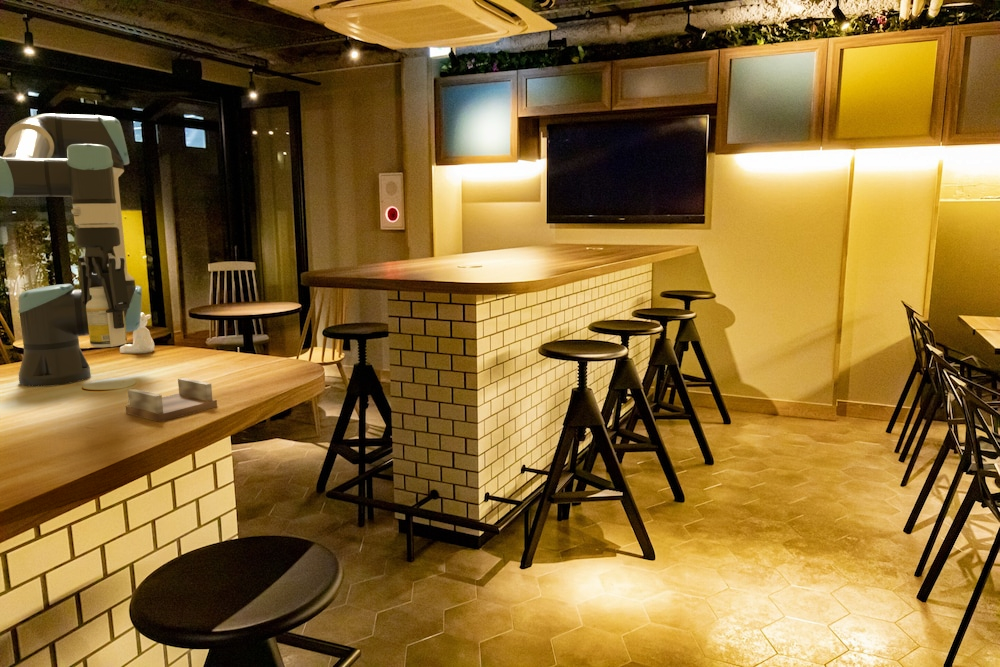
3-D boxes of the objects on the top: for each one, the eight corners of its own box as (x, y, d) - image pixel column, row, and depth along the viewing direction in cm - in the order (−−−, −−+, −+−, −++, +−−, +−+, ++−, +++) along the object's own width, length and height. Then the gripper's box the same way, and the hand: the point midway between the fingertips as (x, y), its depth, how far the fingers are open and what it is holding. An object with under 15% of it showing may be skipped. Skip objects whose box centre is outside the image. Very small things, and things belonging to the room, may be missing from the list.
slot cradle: (126, 413, 147) (123, 389, 146) (183, 399, 158) (181, 377, 157) (159, 422, 141) (157, 397, 140) (217, 406, 151) (215, 383, 151)
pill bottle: (119, 341, 147) (114, 285, 145) (132, 344, 143) (126, 286, 141) (85, 345, 142) (78, 287, 140) (97, 349, 138) (91, 289, 136)
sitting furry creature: (149, 347, 218) (145, 309, 216) (165, 350, 214) (162, 310, 212) (118, 353, 211) (114, 312, 209) (135, 356, 206) (131, 315, 204)
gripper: (53, 226, 141) (66, 341, 145) (102, 226, 130) (114, 350, 134) (92, 225, 147) (104, 335, 151) (142, 225, 136) (153, 344, 140)
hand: (109, 342), depth 142 cm, fingers closed on pill bottle, 6 cm apart
